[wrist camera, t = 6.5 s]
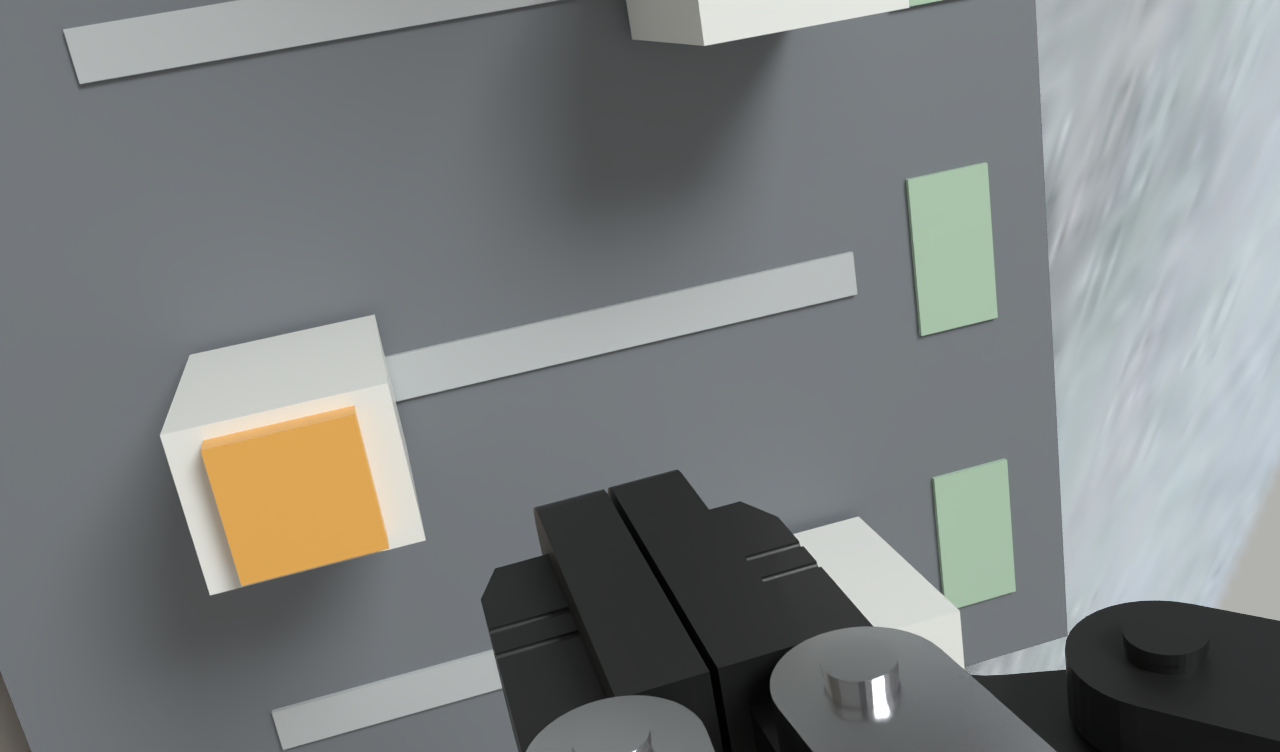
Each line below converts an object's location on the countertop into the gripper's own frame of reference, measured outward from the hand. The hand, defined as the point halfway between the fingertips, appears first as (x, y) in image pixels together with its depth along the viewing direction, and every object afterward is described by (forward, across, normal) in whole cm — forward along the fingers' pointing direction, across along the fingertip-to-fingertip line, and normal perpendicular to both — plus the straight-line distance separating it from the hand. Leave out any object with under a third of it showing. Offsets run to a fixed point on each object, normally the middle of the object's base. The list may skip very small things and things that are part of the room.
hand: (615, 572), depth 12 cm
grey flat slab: (+12, -1, 0) cm, 12 cm away
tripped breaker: (+9, +3, 0) cm, 10 cm away
